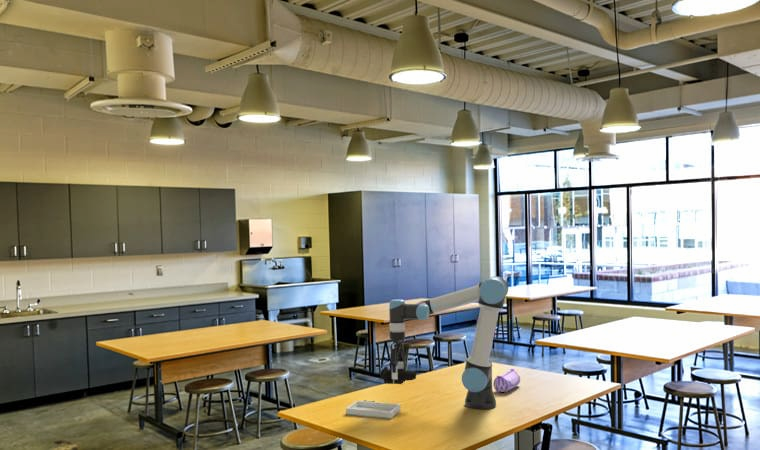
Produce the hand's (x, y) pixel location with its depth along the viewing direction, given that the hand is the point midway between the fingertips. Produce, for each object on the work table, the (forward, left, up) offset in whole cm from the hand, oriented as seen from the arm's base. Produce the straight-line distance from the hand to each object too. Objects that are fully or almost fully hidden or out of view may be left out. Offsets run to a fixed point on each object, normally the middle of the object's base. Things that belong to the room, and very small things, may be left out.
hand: (397, 377), depth 294 cm
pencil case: (-47, -50, -15) cm, 70 cm away
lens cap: (+15, +1, -15) cm, 21 cm away
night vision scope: (0, 0, -3) cm, 3 cm away
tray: (+8, +14, -14) cm, 21 cm away
